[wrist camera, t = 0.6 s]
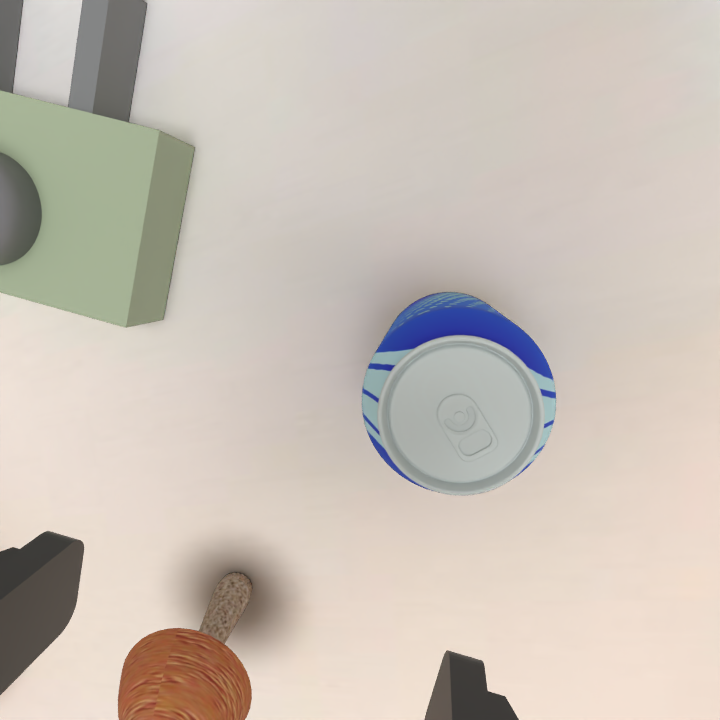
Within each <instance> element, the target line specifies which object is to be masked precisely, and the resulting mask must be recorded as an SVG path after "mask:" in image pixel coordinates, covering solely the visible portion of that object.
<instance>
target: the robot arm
mask: <svg viewBox="0 0 720 720" xmlns="http://www.w3.org/2000/svg"><path fill="white" fill-rule="evenodd" d="M83 554H84V544H83V542H82V541H81V540H77V539H74V538H70V537H67V536H64V535H60V534H57V533H54V532H50V531H46V532H44V533H42V534H41V535H39V536H38V537H36V538H35V539H34V540H32V541H31V542H29V543H28V544H26V545H25V546H24V547H22V548H21V549H17V548H14V547H12V548H10V549H7V550H4V551H1V552H0V695H1V694H2V693H3V692H4V691H5V690H6V689H7V688H8V687H9V686H10V685H11V684H12V683H13V682H14V681H15V680H16V679H17V678H18V677H19V676H20V675H21V674H22V673H23V672H24V670H25V669H26V668H27V667H28V666H29V665H30V664H31V663H32V662H33V661H34V660H35V659H36V658H37V657H38V656H39V655H40V654H41V653H42V652H43V651H44V650H45V649H46V648H47V647H48V646H49V645H50V644H51V643H52V642H53V641H54V640H55V639H56V638H57V637H58V636H59V635H60V634H61V633H62V631H63V630H64V629H65V627H66V626H67V624H68V623H69V621H70V619H71V617H72V615H73V612H74V610H75V607H76V602H77V596H78V589H79V582H80V575H81V568H82V561H83ZM425 720H519V719H518V718H517V716H516V714H515V713H514V711H513V709H512V707H511V706H510V704H509V702H508V701H507V699H506V697H505V696H502V695H499V694H495V693H492V692H489V691H487V683H486V676H485V668H484V663H483V661H481V660H478V659H475V658H471V657H468V656H465V655H461V654H458V653H454V652H451V651H448V650H447V651H446V652H445V654H444V657H443V660H442V663H441V666H440V670H439V673H438V676H437V679H436V683H435V686H434V689H433V692H432V696H431V699H430V702H429V705H428V709H427V712H426V716H425Z"/></svg>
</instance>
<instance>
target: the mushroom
mask: <svg viewBox="0 0 720 720" xmlns="http://www.w3.org/2000/svg"><path fill="white" fill-rule="evenodd" d="M251 585H252V583H250V579H247V576H244V575H243V574H239V572H238V573H234V572H233V573H232V574H230V573H229V574H228V575H227V576H225V577H224V578H223V579H222V580H221V581H220V582H219V583H218V585H217V587H216V588H215V591H214V593H213V596H212V599H211V601H210V604H209V606H208V609H207V612H206V614H205V617H204V619H203V622H202V624H201V627H200V630H199V631H195V630H191V629H182V628H173V629H165V630H160V631H157V632H154V633H152V634H149V635H148V636H146V637H144V638H143V639H141V640H140V641H139V642H138V643H137V644H136V645H135V646H134V647H133V648H132V649H131V651H130V652H129V654H128V656H127V657H126V659H125V662H124V666H123V669H122V674H121V680H120V687H119V695H118V717H119V720H245V718H246V717H247V715H248V712H249V709H250V705H251V699H252V696H251V685H250V680H249V677H248V674H247V672H246V670H245V668H244V666H243V664H242V663H241V661H240V660H239V659H238V657H237V656H236V655H235V654H234V653H233V652H232V651H231V650H230V649H229V648H228V647H227V646H226V645H224V644H225V642H226V640H227V638H228V637H229V635H230V633H231V632H232V630H233V628H234V627H235V625H236V623H237V622H238V620H239V618H240V617H241V615H242V613H243V612H244V610H245V608H246V606H247V605H248V603H249V599H250V595H251V591H252V587H251Z"/></svg>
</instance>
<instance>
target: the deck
mask: <svg viewBox="0 0 720 720" xmlns="http://www.w3.org/2000/svg"><path fill="white" fill-rule="evenodd" d="M22 5H23V0H0V292H1V293H4V294H8V295H11V296H15V297H19V298H22V299H26V300H29V301H33V302H36V303H40V304H43V305H47V306H51V307H54V308H58V309H61V310H65V311H68V312H72V313H76V314H79V315H83V316H86V317H90V318H93V319H97V320H101V321H104V322H108V323H111V324H115V325H118V326H122V327H131V326H136V325H140V324H145V323H150V322H154V321H159V320H163V319H164V313H165V308H166V302H167V297H168V291H169V286H170V280H171V275H172V270H173V264H174V259H175V253H176V248H177V242H178V237H179V231H180V226H181V220H182V215H183V209H184V204H185V199H186V193H187V188H188V182H189V177H190V171H191V166H192V160H193V155H194V149H195V147H193V146H191V145H189V144H187V143H184V142H182V141H180V140H178V139H176V138H174V137H172V136H170V135H168V134H166V133H164V132H162V131H160V130H156V129H152V128H148V127H144V126H140V125H136V124H132V123H128V121H129V115H130V109H131V102H132V96H133V90H134V83H135V77H136V71H137V64H138V58H139V52H140V46H141V39H142V33H143V27H144V20H145V14H146V8H147V3H146V2H145V1H144V0H83V2H82V9H81V16H80V23H79V31H78V38H77V45H76V53H75V60H74V67H73V74H72V82H71V89H70V96H69V104H68V107H65V106H61V105H57V104H53V103H49V102H45V101H41V100H37V99H33V98H29V97H25V96H21V95H17V94H13V93H12V90H13V81H14V73H15V64H16V56H17V47H18V39H19V30H20V22H21V13H22Z"/></svg>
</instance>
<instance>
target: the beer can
mask: <svg viewBox="0 0 720 720" xmlns="http://www.w3.org/2000/svg"><path fill="white" fill-rule="evenodd" d="M362 411H363V418H364V422H365V426H366V429H367V432H368V435H369V437H370V439H371V441H372V443H373V445H374V447H375V448H376V450H377V451H378V453H379V454H380V456H381V457H382V458H383V459H384V461H385V462H386V463H387V464H388V465H389V466H390V467H391V468H392V469H393V470H395V471H396V472H397V473H398V474H399V475H401V476H402V477H404V478H405V479H407V480H408V481H410V482H412V483H414V484H416V485H418V486H420V487H423V488H425V489H429V490H432V491H436V492H439V493H443V494H449V495H462V496H463V495H474V494H480V493H484V492H487V491H490V490H493V489H495V488H498V487H500V486H502V485H504V484H505V483H507V482H509V481H510V480H512V479H513V478H515V477H516V476H518V475H519V474H520V473H521V472H523V471H524V470H525V469H526V468H527V467H528V466H529V465H530V464H531V463H532V462H533V461H534V460H535V458H536V457H537V456H538V454H539V453H540V452H541V450H542V448H543V447H544V445H545V443H546V441H547V439H548V437H549V435H550V432H551V429H552V426H553V422H554V418H555V411H556V391H555V385H554V380H553V377H552V373H551V370H550V368H549V365H548V363H547V361H546V359H545V357H544V355H543V353H542V352H541V350H540V349H539V347H538V346H537V345H536V344H535V342H534V341H533V340H532V339H531V338H530V337H529V336H528V335H527V334H526V333H525V332H524V331H523V330H522V329H520V328H519V327H518V326H517V325H515V324H514V323H513V322H511V321H510V320H508V319H507V318H506V317H504V316H503V315H502V314H500V313H499V312H498V311H496V310H495V309H493V308H492V307H491V306H489V305H488V304H486V303H485V302H483V301H482V300H480V299H478V298H475V297H473V296H470V295H467V294H462V293H455V292H443V293H436V294H432V295H429V296H426V297H423V298H421V299H419V300H417V301H415V302H414V303H412V304H411V305H409V306H408V307H407V308H406V309H405V310H404V311H403V312H402V313H401V314H400V315H399V316H398V317H397V318H396V320H395V321H394V323H393V324H392V326H391V328H390V329H389V331H388V333H387V334H386V336H385V337H384V339H383V341H382V342H381V344H380V346H379V347H378V349H377V351H376V352H375V354H374V356H373V358H372V360H371V362H370V364H369V366H368V369H367V372H366V375H365V378H364V383H363V390H362Z"/></svg>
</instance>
